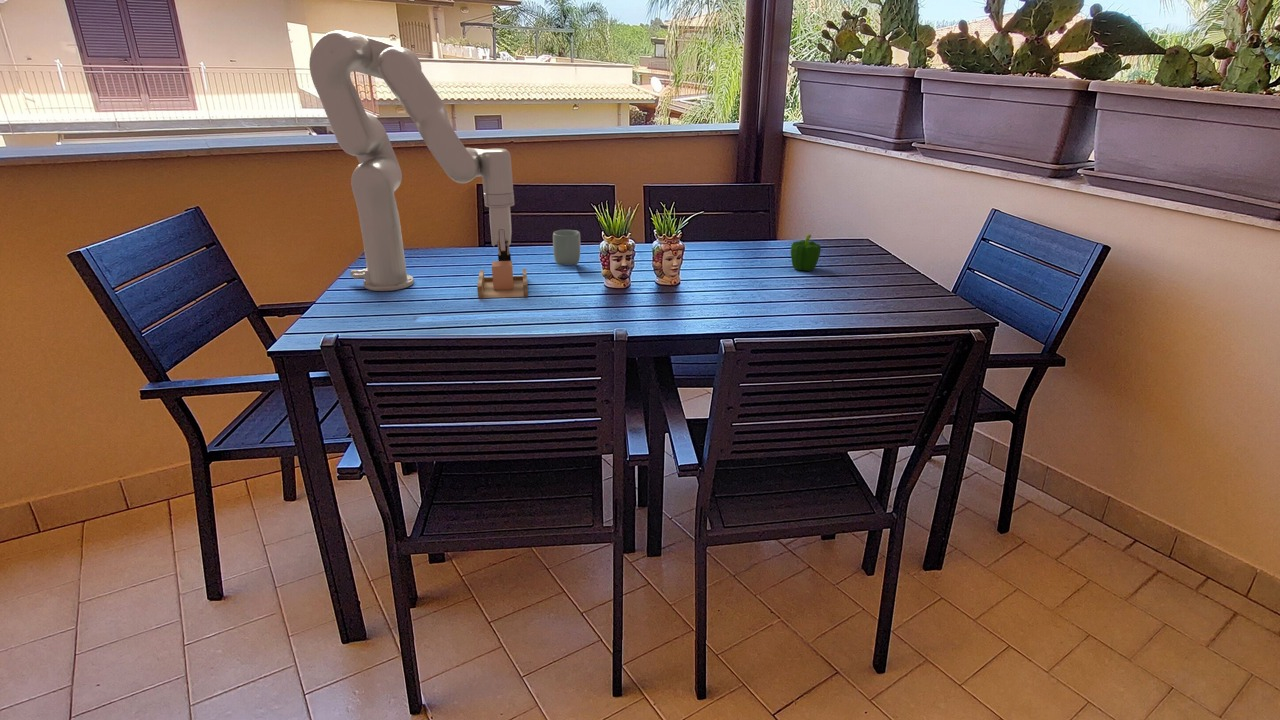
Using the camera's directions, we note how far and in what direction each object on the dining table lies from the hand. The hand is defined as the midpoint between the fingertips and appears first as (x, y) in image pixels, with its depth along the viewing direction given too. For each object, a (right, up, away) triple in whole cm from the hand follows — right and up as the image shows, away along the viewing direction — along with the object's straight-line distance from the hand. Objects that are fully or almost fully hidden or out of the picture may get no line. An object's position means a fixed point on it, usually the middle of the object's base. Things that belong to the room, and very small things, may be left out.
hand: (505, 268), depth 175 cm
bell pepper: (+84, +2, +19) cm, 87 cm away
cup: (+15, +3, +17) cm, 23 cm away
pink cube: (+1, -5, -6) cm, 8 cm away
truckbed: (+1, -8, -7) cm, 11 cm away
